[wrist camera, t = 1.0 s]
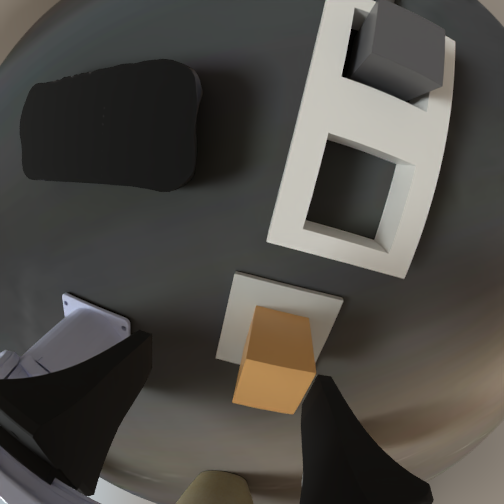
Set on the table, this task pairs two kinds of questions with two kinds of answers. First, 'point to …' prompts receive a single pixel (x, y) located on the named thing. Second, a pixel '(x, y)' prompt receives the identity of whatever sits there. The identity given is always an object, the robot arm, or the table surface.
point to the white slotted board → (364, 139)
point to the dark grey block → (398, 52)
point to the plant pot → (217, 489)
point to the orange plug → (275, 362)
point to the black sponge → (114, 126)
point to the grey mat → (277, 298)
